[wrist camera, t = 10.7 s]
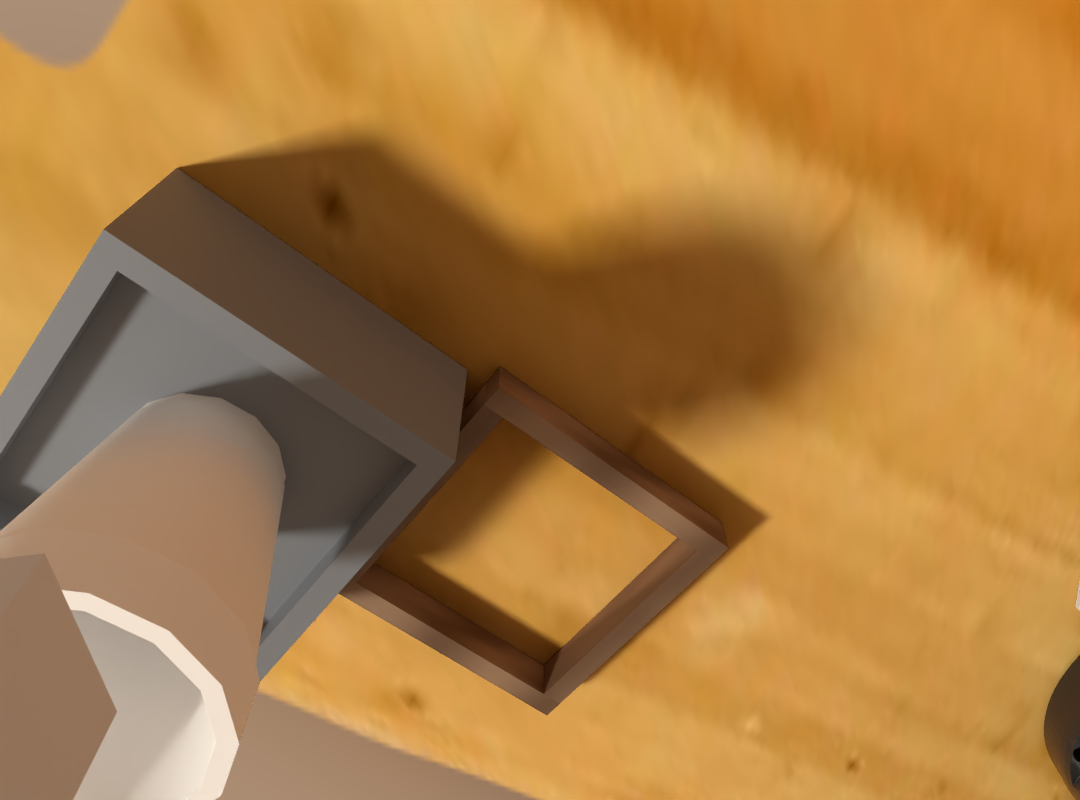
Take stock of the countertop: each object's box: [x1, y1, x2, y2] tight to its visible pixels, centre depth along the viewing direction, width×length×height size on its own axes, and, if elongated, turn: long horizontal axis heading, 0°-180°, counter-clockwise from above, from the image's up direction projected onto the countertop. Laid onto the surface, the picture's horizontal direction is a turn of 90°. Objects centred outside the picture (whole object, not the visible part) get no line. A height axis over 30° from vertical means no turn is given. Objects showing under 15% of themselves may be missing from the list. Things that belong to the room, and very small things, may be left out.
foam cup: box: [0, 393, 286, 800], centre depth 32 cm, size 10×9×13 cm
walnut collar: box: [339, 367, 728, 715], centre depth 46 cm, size 13×13×2 cm
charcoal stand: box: [0, 168, 468, 681], centre depth 40 cm, size 14×14×8 cm
